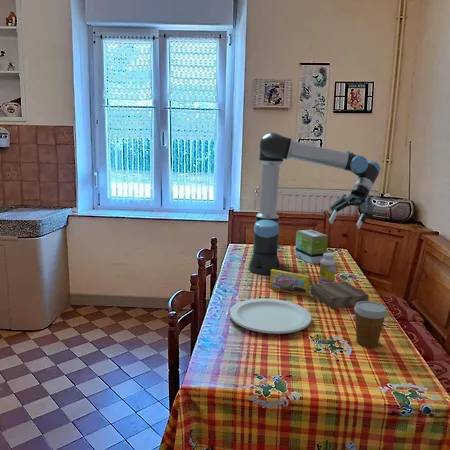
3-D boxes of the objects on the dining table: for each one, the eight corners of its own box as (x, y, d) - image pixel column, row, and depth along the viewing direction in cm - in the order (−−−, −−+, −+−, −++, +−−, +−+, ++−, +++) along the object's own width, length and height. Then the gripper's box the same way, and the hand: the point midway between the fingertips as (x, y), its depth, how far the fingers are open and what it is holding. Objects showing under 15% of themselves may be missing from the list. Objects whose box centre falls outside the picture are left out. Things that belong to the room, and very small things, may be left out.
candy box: (269, 288, 174) (270, 270, 173) (271, 287, 176) (272, 268, 174) (306, 296, 167) (308, 276, 165) (308, 294, 169) (309, 275, 167)
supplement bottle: (316, 279, 187) (318, 252, 185) (329, 279, 189) (331, 251, 187) (323, 284, 181) (325, 256, 179) (336, 283, 183) (339, 255, 180)
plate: (224, 333, 132) (224, 327, 132) (234, 301, 159) (234, 295, 159) (313, 342, 128) (314, 335, 128) (308, 307, 156) (309, 301, 155)
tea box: (294, 256, 225) (295, 230, 222) (309, 255, 230) (311, 228, 227) (310, 264, 212) (312, 236, 209) (326, 262, 216) (328, 234, 213)
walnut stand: (330, 308, 155) (331, 298, 154) (310, 293, 170) (311, 284, 169) (367, 305, 159) (368, 295, 158) (345, 290, 174) (345, 281, 174)
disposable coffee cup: (358, 332, 135) (361, 298, 133) (387, 342, 129) (391, 305, 127) (346, 343, 128) (349, 306, 126) (376, 353, 122) (381, 315, 120)
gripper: (389, 197, 190) (372, 234, 182) (340, 192, 206) (322, 225, 199) (385, 186, 185) (367, 223, 177) (335, 181, 202) (316, 215, 194)
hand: (343, 224), depth 188 cm, fingers open, 13 cm apart
